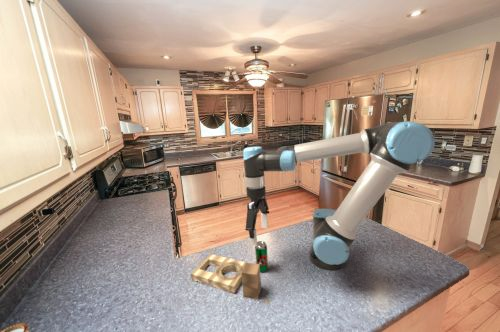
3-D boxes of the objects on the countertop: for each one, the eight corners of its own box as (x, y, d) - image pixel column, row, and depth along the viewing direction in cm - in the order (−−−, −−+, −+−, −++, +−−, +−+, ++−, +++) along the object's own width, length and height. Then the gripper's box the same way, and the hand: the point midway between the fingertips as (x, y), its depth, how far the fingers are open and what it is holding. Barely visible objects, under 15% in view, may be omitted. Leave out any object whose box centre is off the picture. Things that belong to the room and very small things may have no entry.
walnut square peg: (261, 287, 78) (259, 264, 77) (258, 299, 73) (256, 274, 71) (247, 285, 80) (245, 262, 78) (243, 297, 75) (241, 272, 73)
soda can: (270, 268, 89) (269, 243, 86) (262, 274, 85) (261, 248, 83) (261, 263, 92) (260, 239, 90) (253, 269, 88) (252, 244, 86)
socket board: (249, 269, 89) (249, 263, 88) (234, 293, 76) (233, 286, 76) (211, 259, 97) (210, 253, 96) (191, 280, 84) (190, 273, 84)
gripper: (257, 178, 94) (261, 221, 98) (232, 196, 71) (238, 251, 75) (273, 178, 91) (276, 222, 95) (252, 197, 68) (257, 254, 72)
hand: (259, 235), depth 85 cm, fingers open, 13 cm apart
